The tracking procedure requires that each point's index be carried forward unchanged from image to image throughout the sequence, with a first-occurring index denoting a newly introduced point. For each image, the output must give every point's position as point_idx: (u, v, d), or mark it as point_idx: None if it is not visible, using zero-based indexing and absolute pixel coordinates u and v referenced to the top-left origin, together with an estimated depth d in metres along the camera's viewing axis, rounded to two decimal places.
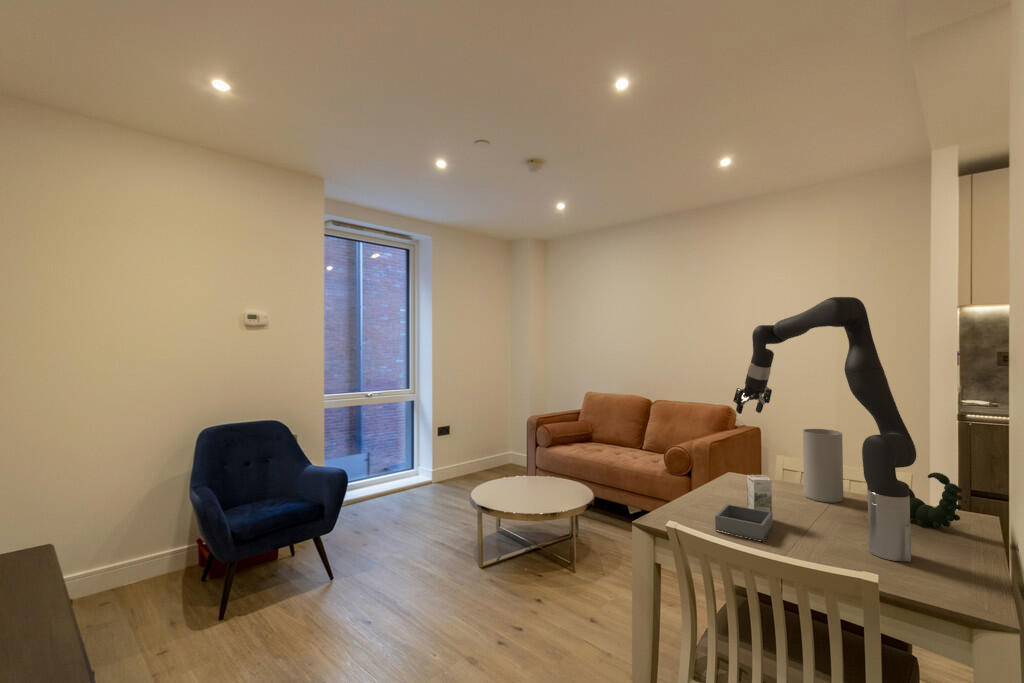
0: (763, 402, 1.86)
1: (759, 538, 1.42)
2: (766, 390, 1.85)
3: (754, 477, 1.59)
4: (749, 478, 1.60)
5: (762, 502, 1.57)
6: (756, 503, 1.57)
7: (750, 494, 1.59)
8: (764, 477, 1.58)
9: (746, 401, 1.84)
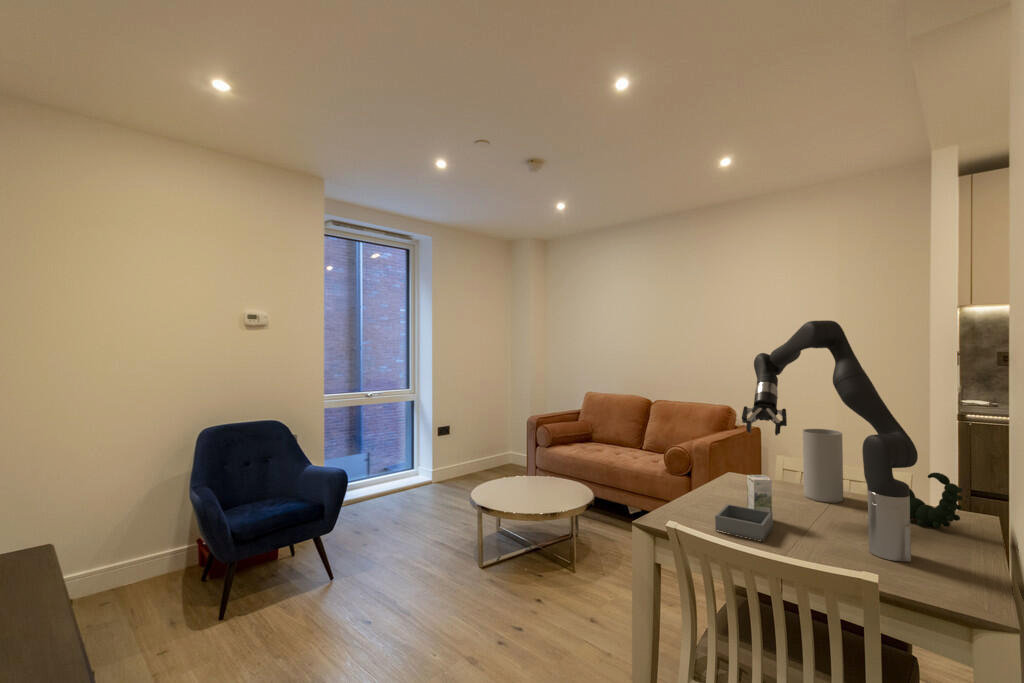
0: (777, 420, 1.69)
1: (759, 538, 1.42)
2: (780, 411, 1.72)
3: (754, 477, 1.59)
4: (749, 478, 1.60)
5: (762, 502, 1.57)
6: (756, 503, 1.57)
7: (750, 494, 1.59)
8: (764, 477, 1.58)
9: (752, 416, 1.74)
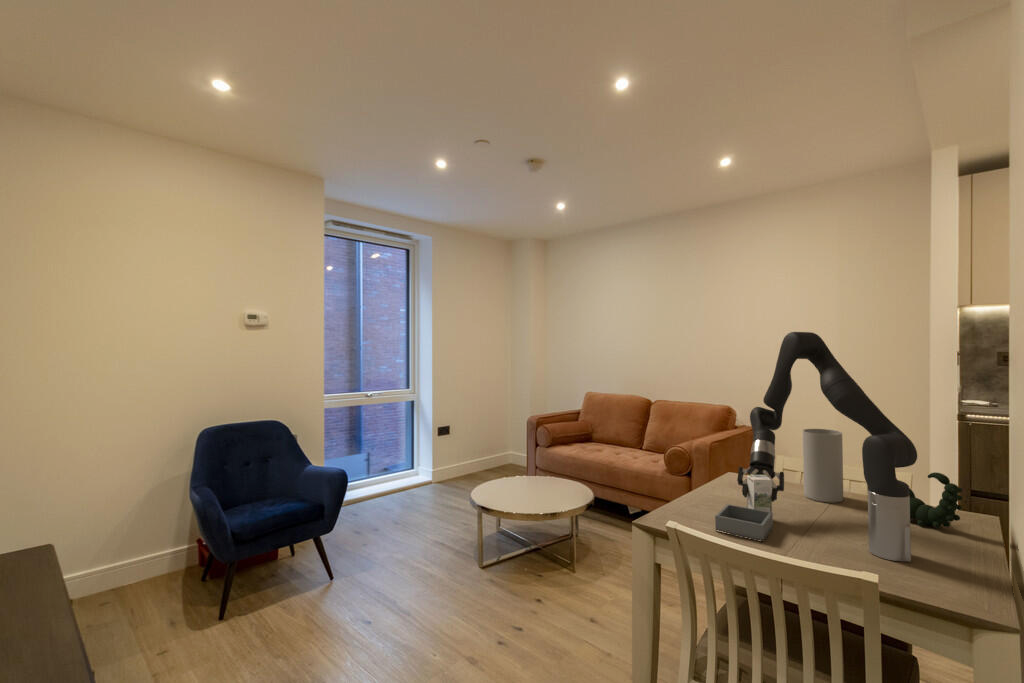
0: (774, 485, 1.58)
1: (759, 538, 1.42)
2: (778, 474, 1.61)
3: (754, 477, 1.59)
4: (749, 478, 1.60)
5: (762, 502, 1.57)
6: (756, 503, 1.57)
7: (750, 494, 1.59)
8: (764, 477, 1.58)
9: None
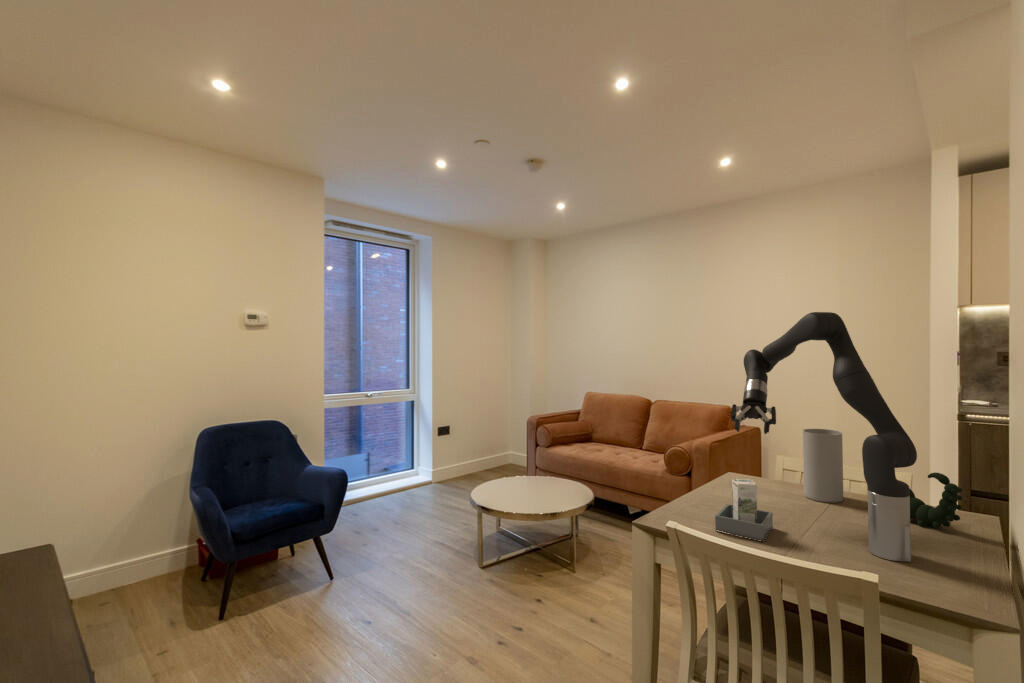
0: (766, 418, 1.64)
1: (759, 538, 1.42)
2: (769, 409, 1.67)
3: (738, 481, 1.51)
4: (734, 482, 1.53)
5: (747, 508, 1.49)
6: (740, 509, 1.49)
7: (735, 499, 1.52)
8: (749, 481, 1.50)
9: (741, 414, 1.69)
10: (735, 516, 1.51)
